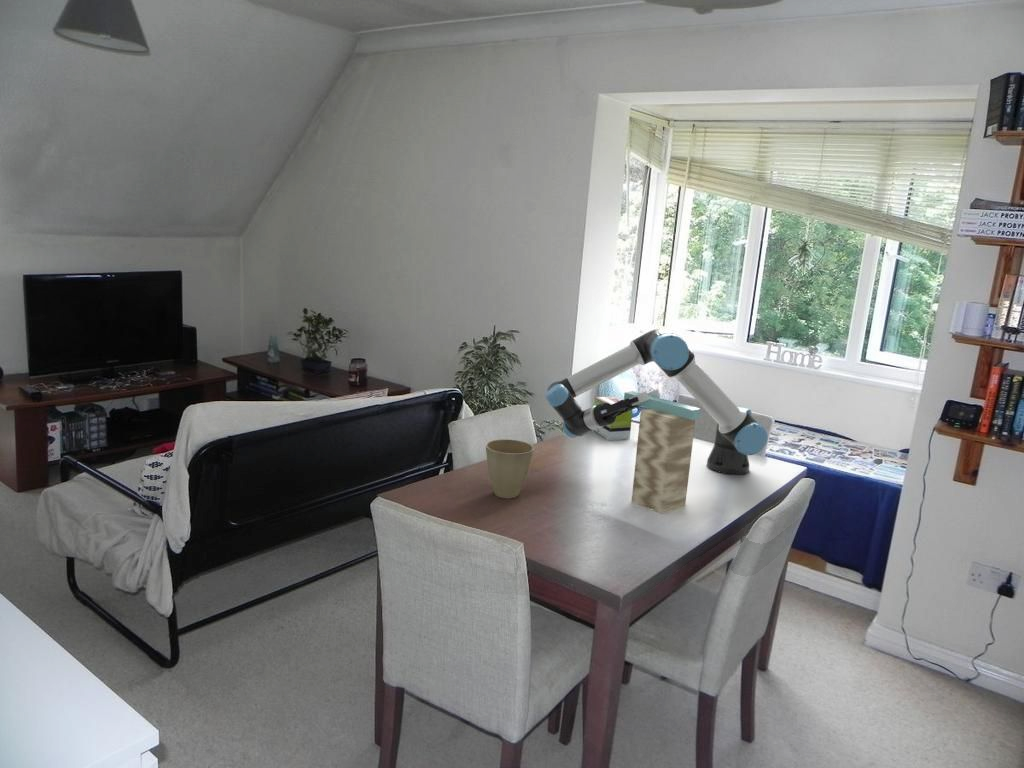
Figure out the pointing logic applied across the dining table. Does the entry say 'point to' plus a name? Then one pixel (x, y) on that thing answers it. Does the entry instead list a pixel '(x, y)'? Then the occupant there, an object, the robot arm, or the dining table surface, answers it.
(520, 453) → the plant pot
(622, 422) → the tea box
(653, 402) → the teal block
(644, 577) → the dining table surface
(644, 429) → the wooden stand
